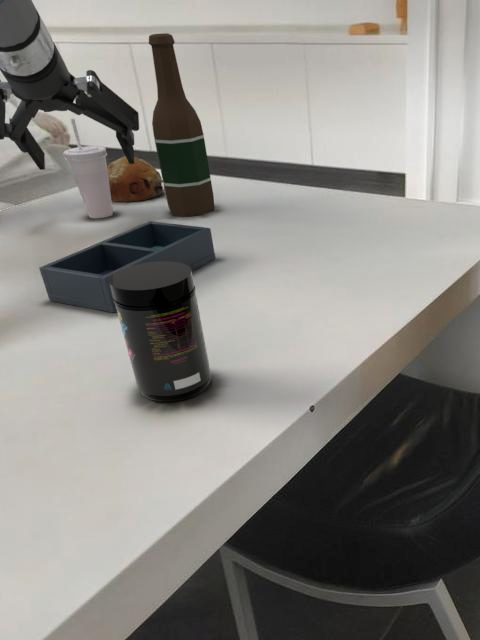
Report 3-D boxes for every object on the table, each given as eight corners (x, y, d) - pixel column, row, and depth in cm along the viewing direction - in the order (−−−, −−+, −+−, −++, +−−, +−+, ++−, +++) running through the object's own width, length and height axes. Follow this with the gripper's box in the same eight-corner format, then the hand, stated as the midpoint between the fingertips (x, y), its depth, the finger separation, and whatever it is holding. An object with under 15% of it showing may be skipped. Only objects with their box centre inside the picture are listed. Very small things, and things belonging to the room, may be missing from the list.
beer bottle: (182, 220, 107) (147, 37, 92) (159, 211, 111) (122, 35, 97) (225, 209, 110) (198, 32, 96) (200, 201, 115) (171, 31, 101)
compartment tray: (49, 300, 81) (38, 267, 79) (156, 250, 95) (150, 220, 93) (114, 312, 77) (104, 278, 75) (215, 258, 91) (210, 227, 89)
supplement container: (187, 362, 66) (164, 255, 60) (228, 384, 62) (207, 272, 56) (124, 388, 63) (93, 277, 57) (163, 413, 59) (134, 296, 53)
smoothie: (79, 213, 112) (52, 117, 104) (119, 207, 114) (96, 113, 106) (82, 223, 107) (55, 123, 99) (124, 216, 109) (100, 119, 101)
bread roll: (151, 206, 127) (130, 163, 125) (180, 187, 120) (158, 140, 118) (107, 220, 121) (84, 174, 118) (135, 200, 114) (111, 151, 111)
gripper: (-79, 86, 83) (5, 186, 104) (128, 74, 85) (169, 175, 106) (-79, 31, 85) (4, 141, 106) (125, 20, 86) (167, 131, 107)
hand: (87, 158), depth 106 cm, fingers open, 13 cm apart
